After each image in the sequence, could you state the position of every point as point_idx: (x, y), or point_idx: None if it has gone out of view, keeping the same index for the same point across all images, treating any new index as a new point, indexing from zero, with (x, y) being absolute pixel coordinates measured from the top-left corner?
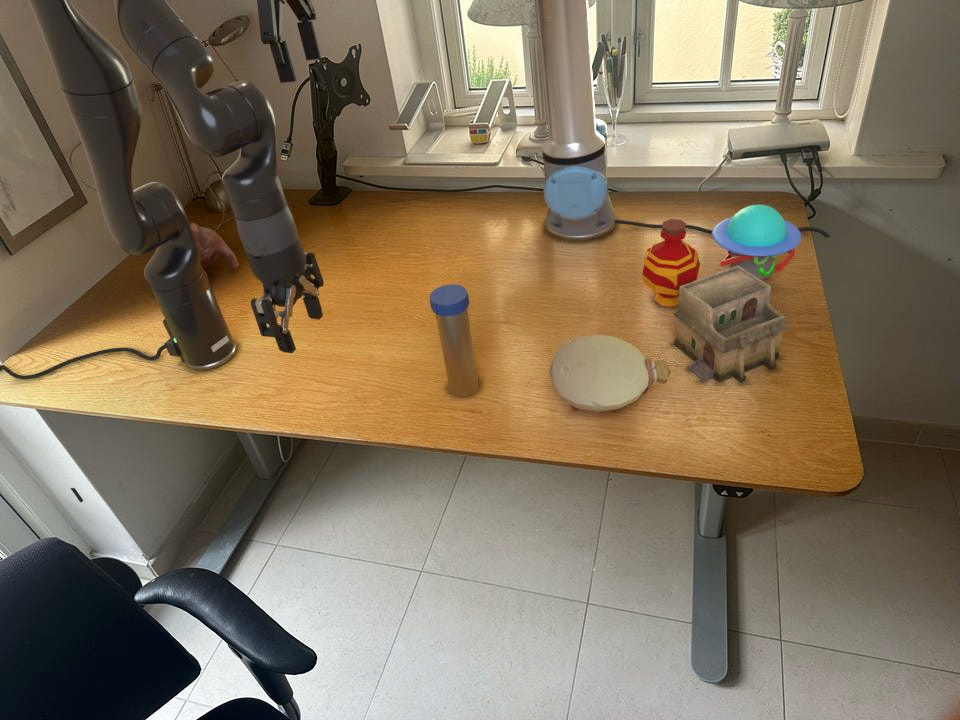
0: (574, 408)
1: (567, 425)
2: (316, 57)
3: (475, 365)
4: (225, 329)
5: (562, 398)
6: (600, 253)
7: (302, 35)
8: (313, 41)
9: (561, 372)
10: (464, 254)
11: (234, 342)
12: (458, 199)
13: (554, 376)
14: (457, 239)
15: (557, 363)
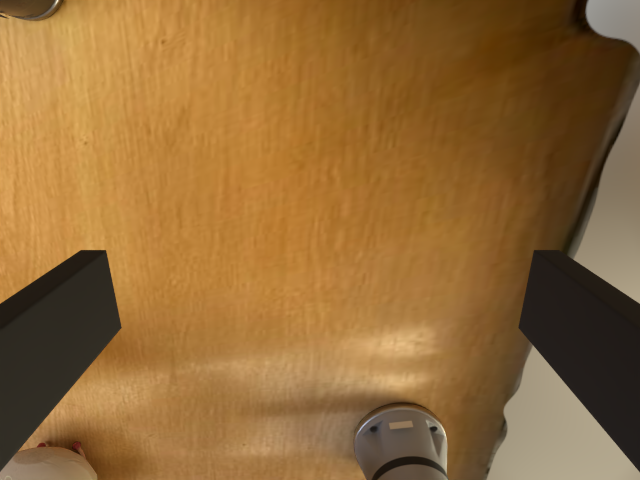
0: (37, 446)
1: None
2: (526, 318)
3: None
4: (3, 10)
5: None
6: (324, 457)
7: (636, 353)
8: (579, 386)
9: (6, 475)
10: (334, 311)
11: (47, 11)
12: (524, 275)
13: (12, 464)
14: (381, 295)
15: (21, 471)
